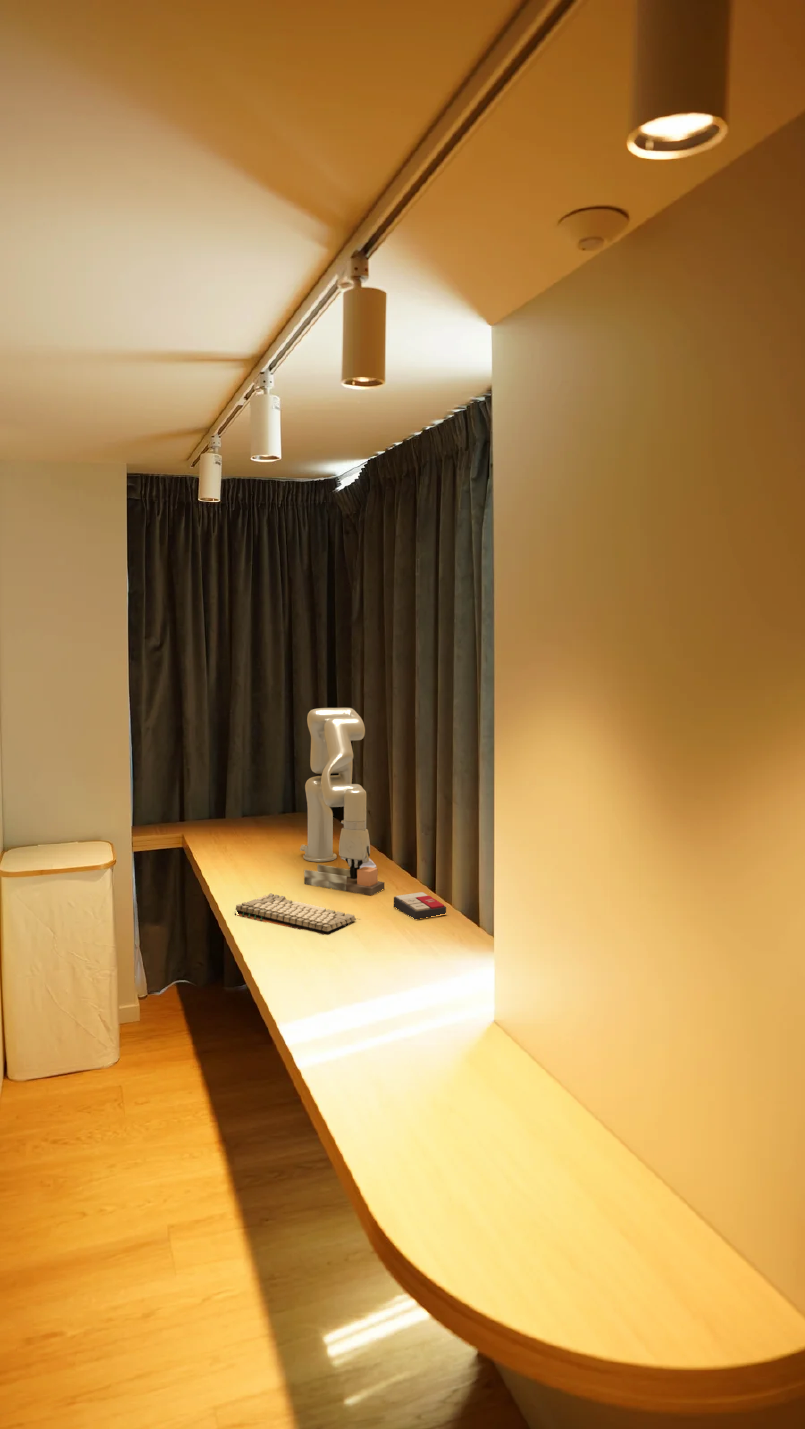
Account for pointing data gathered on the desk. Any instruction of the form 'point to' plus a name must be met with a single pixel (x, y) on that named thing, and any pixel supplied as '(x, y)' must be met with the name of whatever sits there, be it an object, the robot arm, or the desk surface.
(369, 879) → the block
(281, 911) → the mechanical keyboard
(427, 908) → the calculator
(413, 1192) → the desk surface
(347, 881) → the open channel deck
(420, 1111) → the desk surface
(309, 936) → the desk surface
